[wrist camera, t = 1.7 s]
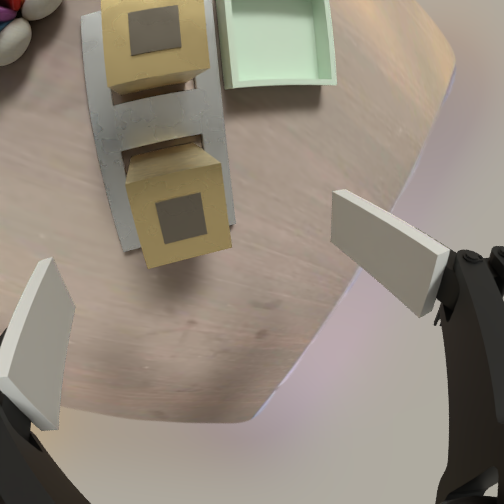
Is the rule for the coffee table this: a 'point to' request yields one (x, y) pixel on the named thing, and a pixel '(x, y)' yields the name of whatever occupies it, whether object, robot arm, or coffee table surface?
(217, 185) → the brass block
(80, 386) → the coffee table surface
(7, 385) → the robot arm
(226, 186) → the grey frame plate
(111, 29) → the tan textured tower
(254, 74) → the tray
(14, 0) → the colorful toy
